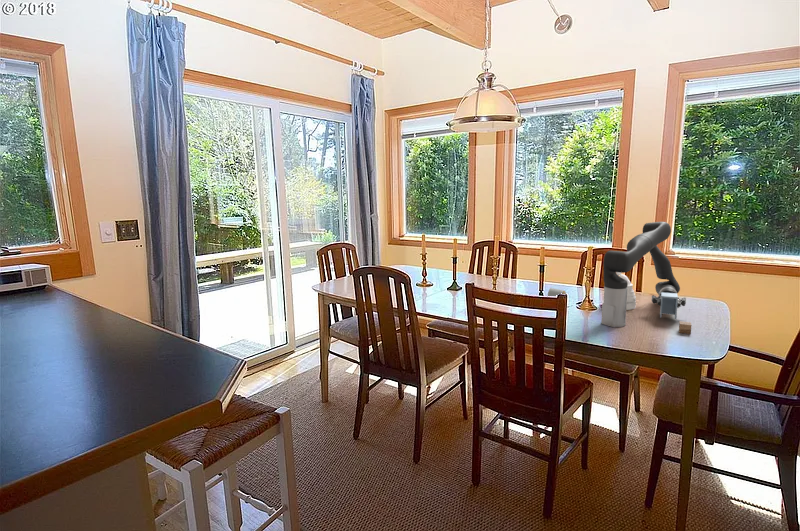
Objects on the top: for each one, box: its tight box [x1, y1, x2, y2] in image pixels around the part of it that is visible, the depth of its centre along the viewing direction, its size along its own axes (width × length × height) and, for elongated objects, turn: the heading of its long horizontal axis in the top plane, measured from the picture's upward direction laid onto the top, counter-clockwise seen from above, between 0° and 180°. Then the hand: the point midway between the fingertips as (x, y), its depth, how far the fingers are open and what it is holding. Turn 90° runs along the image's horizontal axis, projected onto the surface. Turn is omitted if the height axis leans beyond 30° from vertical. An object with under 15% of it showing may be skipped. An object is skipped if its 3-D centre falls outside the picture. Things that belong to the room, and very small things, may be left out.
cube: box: [678, 320, 692, 335], centre depth 178 cm, size 4×4×4 cm
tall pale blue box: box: [659, 292, 679, 320], centre depth 193 cm, size 7×6×10 cm
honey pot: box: [616, 272, 637, 311], centre depth 217 cm, size 13×13×18 cm
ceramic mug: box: [547, 287, 567, 297], centre depth 232 cm, size 11×8×8 cm
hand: (669, 304), depth 191 cm, fingers closed on tall pale blue box, 6 cm apart
